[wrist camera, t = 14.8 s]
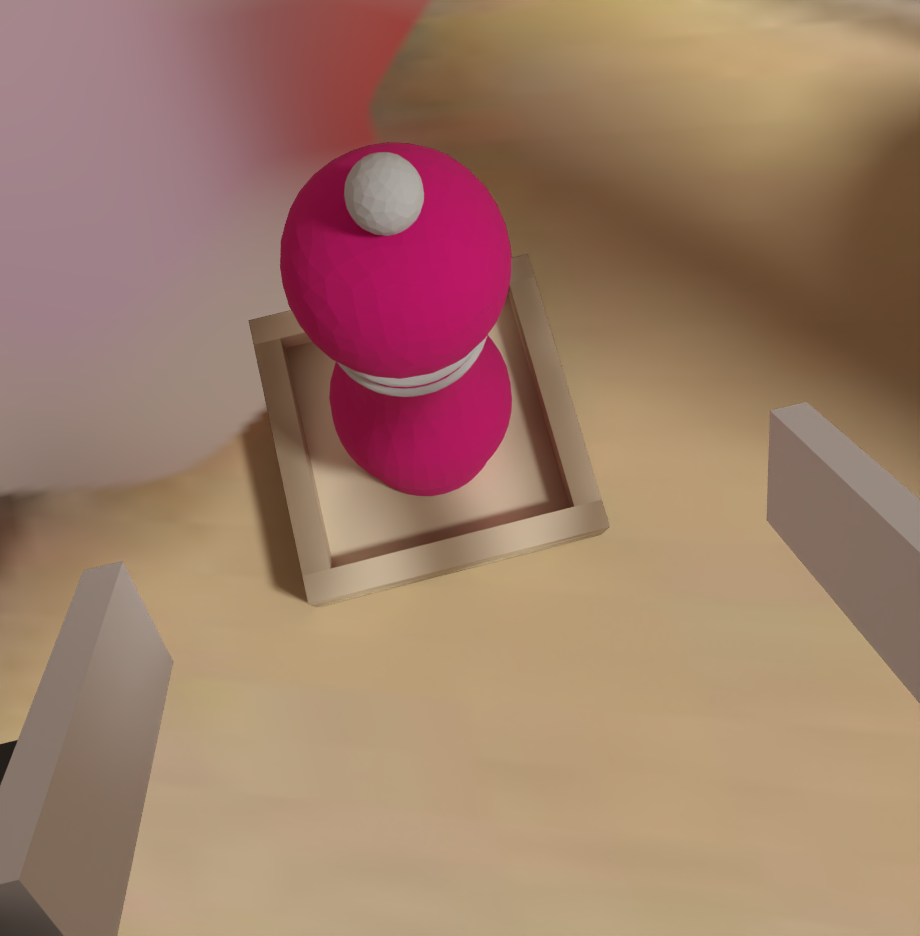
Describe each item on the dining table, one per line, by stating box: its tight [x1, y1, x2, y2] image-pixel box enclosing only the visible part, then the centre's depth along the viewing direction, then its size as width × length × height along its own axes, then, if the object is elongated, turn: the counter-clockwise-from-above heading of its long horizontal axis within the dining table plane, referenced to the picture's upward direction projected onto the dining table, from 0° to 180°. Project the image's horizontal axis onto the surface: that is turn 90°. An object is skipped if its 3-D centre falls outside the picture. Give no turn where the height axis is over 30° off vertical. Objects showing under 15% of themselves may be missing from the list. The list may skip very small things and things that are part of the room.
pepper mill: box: [280, 142, 512, 496], centre depth 27 cm, size 7×7×20 cm
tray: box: [249, 254, 610, 607], centre depth 37 cm, size 13×13×2 cm
